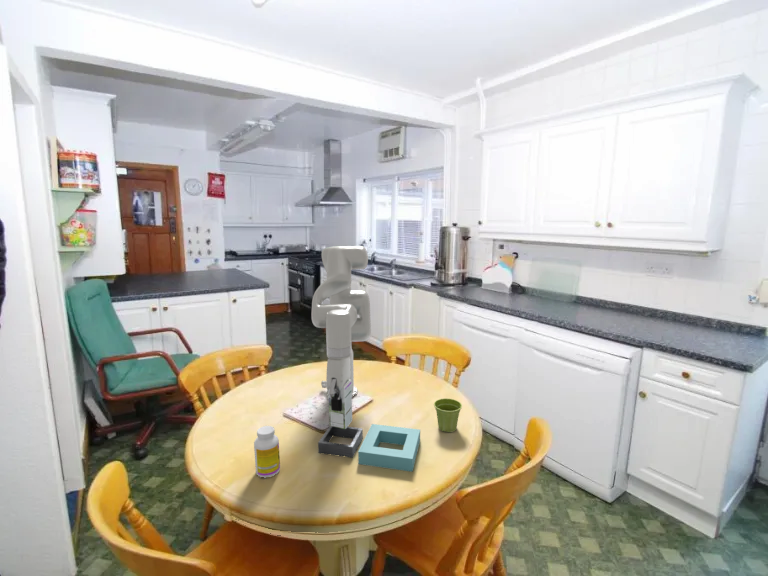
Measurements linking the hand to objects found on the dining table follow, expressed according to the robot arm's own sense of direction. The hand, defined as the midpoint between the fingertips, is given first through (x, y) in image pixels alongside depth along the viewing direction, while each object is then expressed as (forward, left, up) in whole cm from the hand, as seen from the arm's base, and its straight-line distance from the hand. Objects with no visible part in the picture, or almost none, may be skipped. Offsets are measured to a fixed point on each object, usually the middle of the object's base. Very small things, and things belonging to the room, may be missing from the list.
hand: (340, 404), depth 123 cm
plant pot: (+32, +17, -14) cm, 39 cm away
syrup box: (0, 0, -7) cm, 7 cm away
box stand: (0, -1, -14) cm, 14 cm away
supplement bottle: (-16, -18, -14) cm, 27 cm away
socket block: (+16, -1, -14) cm, 21 cm away
